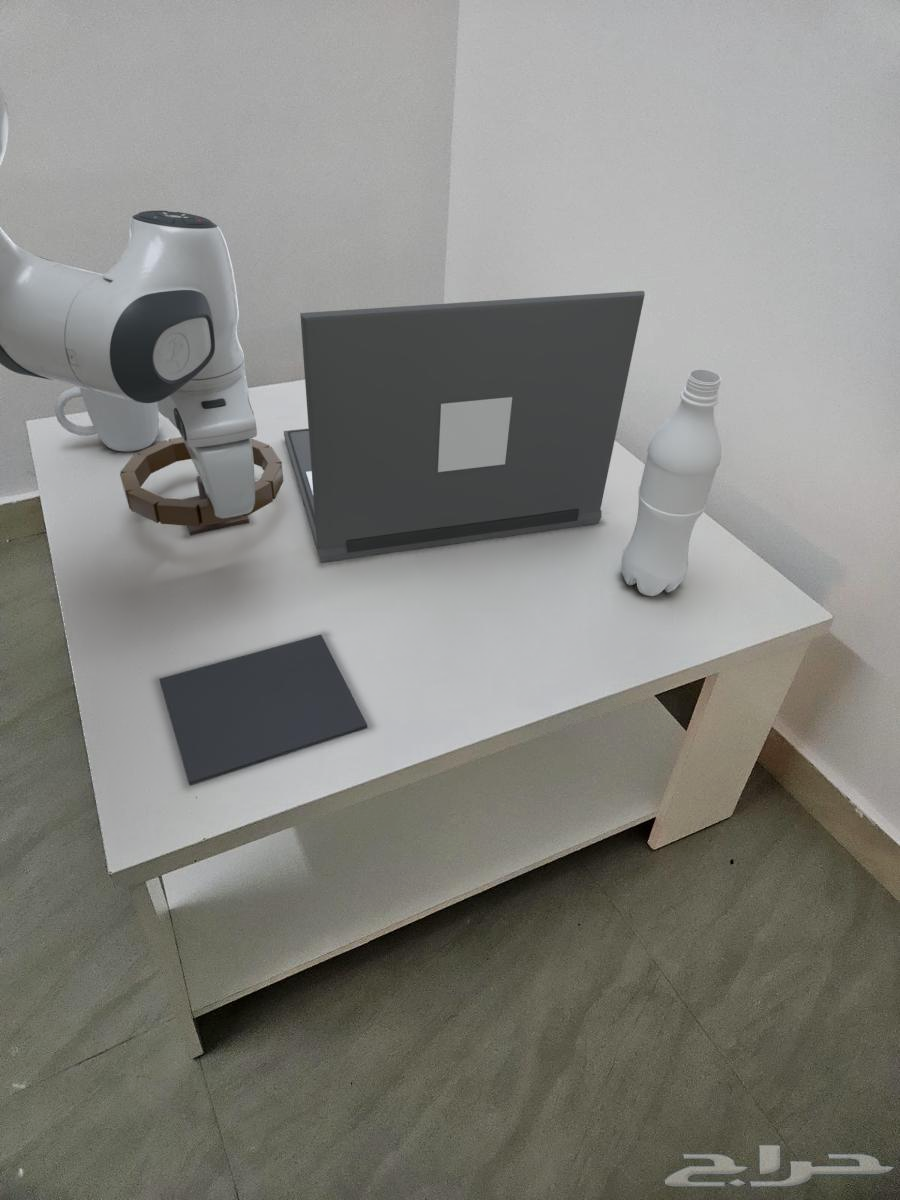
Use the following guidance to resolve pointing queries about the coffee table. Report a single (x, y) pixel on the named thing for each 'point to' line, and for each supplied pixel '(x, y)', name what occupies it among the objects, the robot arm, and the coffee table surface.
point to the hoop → (182, 508)
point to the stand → (202, 529)
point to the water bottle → (674, 488)
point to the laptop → (459, 419)
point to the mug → (112, 419)
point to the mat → (258, 707)
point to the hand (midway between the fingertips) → (218, 505)
